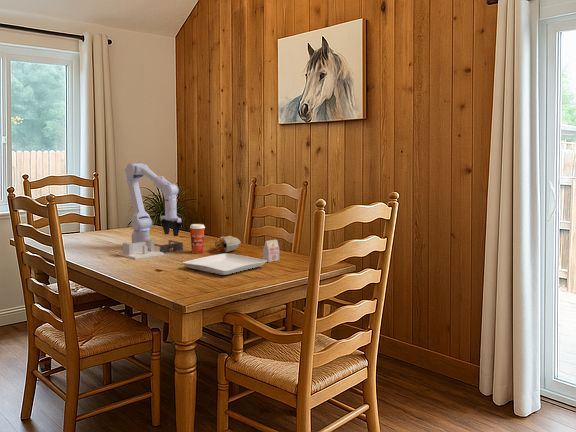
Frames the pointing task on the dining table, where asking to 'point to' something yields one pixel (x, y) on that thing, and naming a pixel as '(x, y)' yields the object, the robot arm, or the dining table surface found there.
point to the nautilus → (226, 244)
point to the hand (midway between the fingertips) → (171, 235)
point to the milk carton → (271, 251)
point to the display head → (139, 250)
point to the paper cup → (197, 238)
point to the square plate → (224, 263)
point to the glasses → (170, 246)
